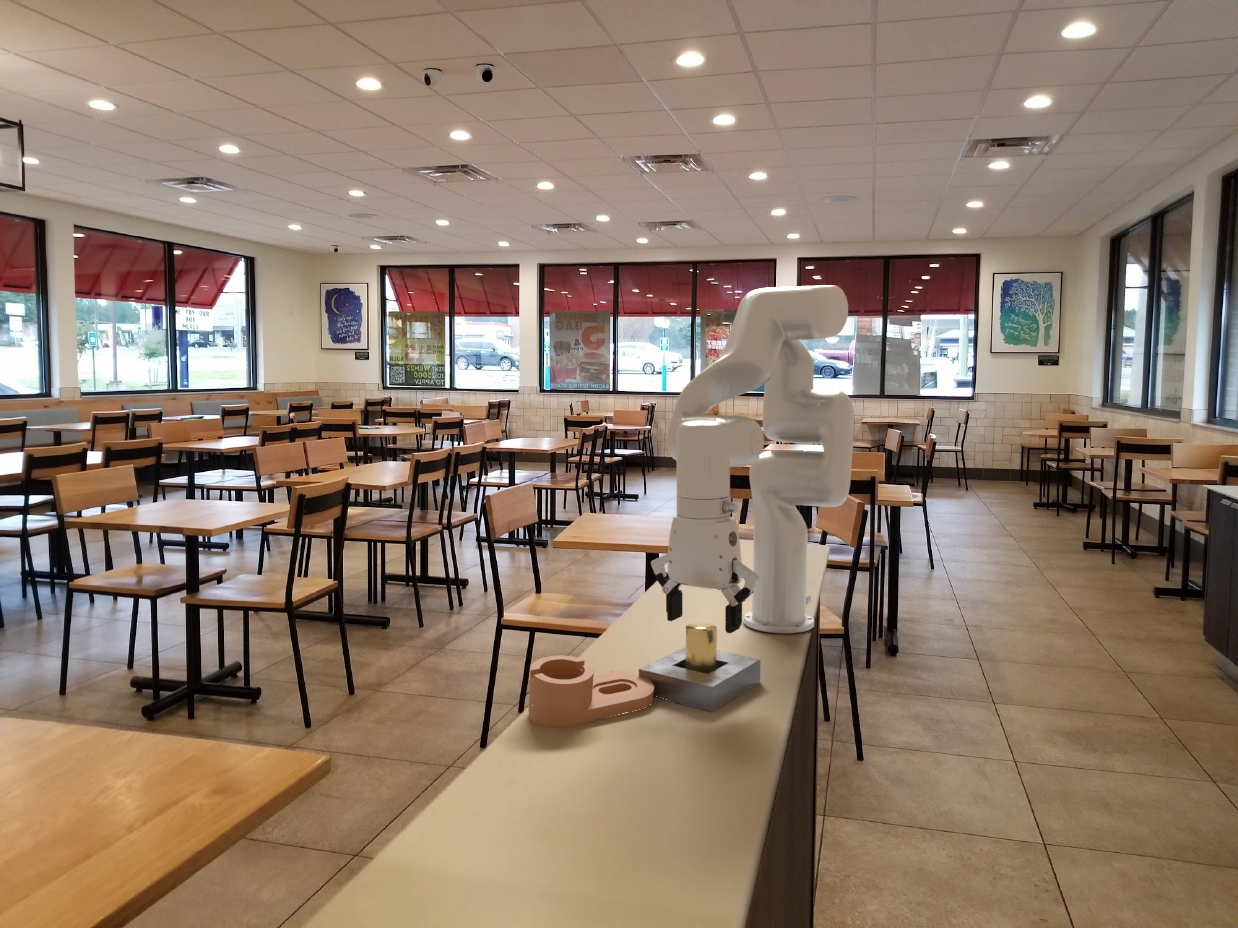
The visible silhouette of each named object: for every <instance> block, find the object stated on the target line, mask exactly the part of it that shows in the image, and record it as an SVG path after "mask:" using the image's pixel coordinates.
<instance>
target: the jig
mask: <svg viewBox="0 0 1238 928" xmlns="http://www.w3.org/2000/svg"><path fill="white" fill-rule="evenodd" d="M638 674H639V676H642V677H644V678H647V679H649V680H650V681H651V682H652V683H653V685H654V694H653V696H657V697H661V698H664V699H667V700H666V701H668V700H670V701H669V702H672V701H674V702H673V703H676V702H678V703H677V704H679V703H680V705H683V704H685V705H684V706H687V705H688V706H687V707H691V706H692V708H695V707H696V708H695V709H698V710H702V711H707V712H710V713H713V712H715V711H716V710H718V709H720V708H721V707H723V706H724V704H725V705H727V704H728V703H729V702H731V701H733V700H734V699H736V698H737V697H739V696H740V694H741V695H742V694H744V693H746V692H747V691H748V690H750V689H752V688H753V687H755V686H757V685H759V684H760V683H761V659H760V658H756V657H750V656H747V655H743V654H736V653H733V652H727V651H723V650H718V649H717V650H716V670H715V671H713V672H711V673H709V674H706V673H702V672H697V671H693V670H689V669H686V646H684V647H682V648H680V649H678V650H676V651H674V652H670V653H669V654H667V655H664V656H663V657H661V658H659V659H657V660H655V661H652V662H651V663H649V664H647V665H644V666H642V667H640V668H638ZM657 697H656V698H657ZM735 697H736V698H735ZM664 699H663V700H664ZM732 699H733V700H732ZM727 702H728V703H727ZM719 707H720V708H719Z"/></svg>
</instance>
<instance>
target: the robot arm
mask: <svg viewBox="0 0 1238 928" xmlns="http://www.w3.org/2000/svg"><path fill="white" fill-rule="evenodd" d="M848 315H849V305H848V299H847V295H846V294H845V292H844V291H843V289H842V288H841V287H839V286H838V285H834V284H833V285H832V284H831V285H828V284H827V285H801V286H797V285H796V286H779V287H778V286H777V287H776V286H775V287H762V288H757V289H754V290H751V291H749V292H747V294H745V295H744V296H743V298H742V299H741V300H740V301H739V304H738V308H737V311H736V314H735V317H734V320H733V322H732V325H731V329H730V330H729V331H730V332H729V334H728V337H727V340H726V343H725V347H724V349H723V352H722V355H721V357H720V358H718V359H717V360H715V361H714V362H713V363H711V364H710V365H708V366H707V367H705V368H704V369H702V370H701V372H700V373H698V374H697V375H695V377H693V378H692V380H690V382H688V383H687V384H686V385H685V387H684V388H683V389H682V390H681V392H680V394H679V396H678V397H677V399H676V403H675V406H674V408H673V411H672V413H671V416H670V420H669V423H668V428H667V432H666V447H667V451H668V453H669V455H670V456H671V457H670V458H672V459H674V460H675V461H676V514H675V515H673V518H672V521H671V526H670V531H669V538H668V549H667V553H666V554H664V555H662V556H660V557H657V558H655V559H653V560H651V562H650V565H651V568H652V570H653V574H654V575H655V580H656V582H657V583H658V584H659V585H660V586H661V589H662V593H663V594H665V611H666V614H667V619H666V620H667V621H669V622H673V621H675V620H677V619H679V618H681V617H683V591H682V590H681V589H680V587H681V586H682V585H684V586H690V587H694V588H699V589H700V588H701V589H705V590H706V589H707V590H711V591H720V592H721V593H722V595H723V597H724V598H725V599H726V601H727V602H728V604H727V605H726V606H725V607H724V608H725V609H724V611H725V616H724V617H725V620H724V621H725V622H724V623H725V626H724V628H725V632H726V633H727V634H733V633H734V632H736V631H737V630H739V629H740V628H741V626H742V623H743V624H744V625H745V626H746V627H748V628H749V629H752V630H756V631H759V632H765V633H770V634H771V633H772V634H798V633H804V632H807V631H810V630H812V629H813V628H814V627H815V619H814V617H812V616H811V615H810V614H808V613H806V611H807V610H806V609H807V605H809V604H811V602H812V597H811V595H809V594H807V580H808V579H807V575H808V572H807V570H808V569H807V568H808V539H809V538H808V537H809V536H808V534H809V532H808V526H807V524H806V521H805V520H804V517H803V515H802V514H801V513H800V511H799V509H797V507H796V506H807V507H808V506H811V507H824V508H835V507H840V506H841V505H843V504H844V503H845V502H846V501H847V499H848V496H849V493H850V487H851V481H852V480H851V478H852V462H853V448H854V447H853V446H854V434H855V433H854V431H855V413H854V407H853V402H852V400H851V398H850V396H848V395H847V393H845V392H844V391H840V390H834V389H814V376H815V375H814V374H815V373H814V372H815V371H814V370H815V364H814V363H815V362H814V359H813V357H812V355H811V353H810V352H809V350H808V349H807V347H806V346H805V345H804V344H803V343H802V341H803V340H823V339H827V338H828V339H829V338H831V337H834V336H837V335H839V334H840V333H841V331H843V329H844V327H845V325H846V323H847V320H848V317H849V316H848ZM762 386H764V390H763V391H764V392H763V403H762V405H763V406H762V427H761V425H760V424H759V423H758V422H757V420H755V419H753V418H751V417H748V416H743V415H725V414H724V415H723V414H722V415H721V414H706V413H708V412H709V411H710V410H711V409H712V408H714V407H716V406H717V405H718V404H720V403H723V402H725V401H727V400H729V399H732V398H735V397H738V396H740V395H743V394H746V393H748V392H751V391H754V390H756V389H758V388H760V387H762ZM764 435H765V437H766V438H767V439H769V440H771V441H774V442H779V443H788V444H789V443H791V444H811V445H821V446H822V448H823V451H805V450H791V449H790V450H789V449H770V450H765V451H763V449H764V446H765V445H764V444H765V437H764ZM748 466H749V473H748V474H749V475H748V476H749V478H748V479H749V485H750V491H751V498H752V506H753V546H752V547H753V548H752V549H753V551H752V552H753V553H752V557H753V558H752V569H750V568H749V567H747V566H746V565H745V564H743V562H742V549H741V540H740V535H739V529H738V525H737V521H736V518H735V517H733V516H731V514H732V513H734V514H736V513H737V511H738V509H739V506H738V504H737V503H736V502H733V501H732V497H731V468H733V467H734V468H743V467H748ZM666 564H667V571H666V568H665V567H666V566H665V565H666ZM742 579H743V580H744V585H743V587H742V588H741V587H740V586H739V584H740V583H741V582H742ZM751 595H752V599H751V600H752V609H751V610H750V611H748V612H746V613H745V614H743V603H744V602H745V601H746V600H747V599H748V598H749V597H750V596H751Z"/></svg>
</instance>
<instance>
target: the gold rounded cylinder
mask: <svg viewBox="0 0 1238 928" xmlns="http://www.w3.org/2000/svg"><path fill="white" fill-rule="evenodd" d="M717 630H718V628H717V625H715V624H712V623H707V622H692V623H689V624H687V625H686V626H685V647H686V669H689V670H693V671H697V672H702V673H706V674H709V673H711V672H713V671H715V670H716V650H718V649H717V647H718V646H717V644H718V643H717V641H718V639H717V637H718V636H717V635H718V631H717Z"/></svg>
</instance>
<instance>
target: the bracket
mask: <svg viewBox="0 0 1238 928" xmlns="http://www.w3.org/2000/svg"><path fill="white" fill-rule="evenodd" d="M594 673H595V670H594V666H593V665H592V664H586V665H585V660H584V659H582V658H580V657H576V656H571V655H559V654H557V655H548V656H544V657H541V658H538V659H537V660H535V661H534V662H533V663H532V664H531V666H530V675H529V677H530V678H529V692H528V693H529V695H528V712H529V717H528V719H529V720H530V721H532V722H533V723H535V724H536V723H537V725H539V726H544V727H552V728H565V727H572V726H577V724H578V725H581V724H586V723H591V722H594V721H595V720H596V721H599V720H598V719H600V720H603V718H605V719H607V718H606V717H610V716H614V715H618V714H622V713H625V712H632V711H635V710H639V709H643V708H645V707H648V706H650V704H652V705H653V703H654V697H653V694H654V685H653V683H652V682H651V681H650V680H649V679H647V678H644V677H642V676H639V673H634V672H630V671H610V672H604V673H599V674H595V675H594ZM652 702H653V703H652ZM532 705H533V706H532ZM650 707H651V706H650ZM648 708H649V707H648ZM632 713H633V712H632ZM614 717H615V716H614ZM610 718H611V717H610Z"/></svg>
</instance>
